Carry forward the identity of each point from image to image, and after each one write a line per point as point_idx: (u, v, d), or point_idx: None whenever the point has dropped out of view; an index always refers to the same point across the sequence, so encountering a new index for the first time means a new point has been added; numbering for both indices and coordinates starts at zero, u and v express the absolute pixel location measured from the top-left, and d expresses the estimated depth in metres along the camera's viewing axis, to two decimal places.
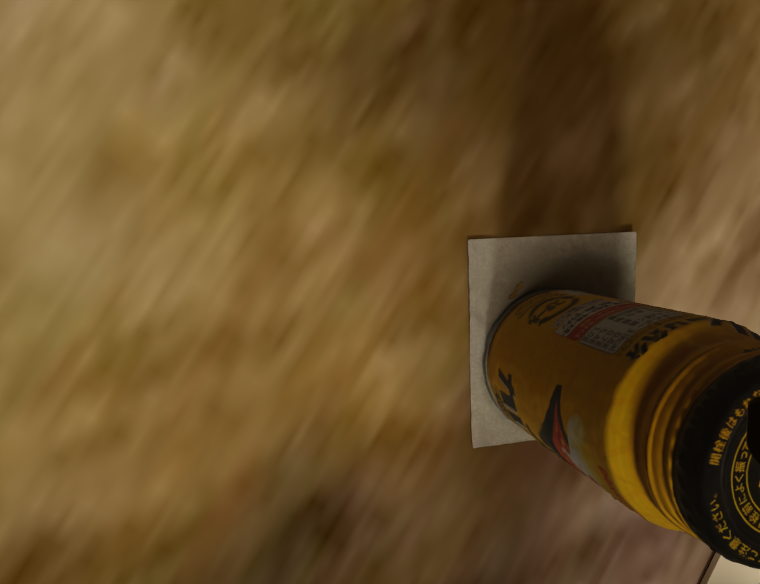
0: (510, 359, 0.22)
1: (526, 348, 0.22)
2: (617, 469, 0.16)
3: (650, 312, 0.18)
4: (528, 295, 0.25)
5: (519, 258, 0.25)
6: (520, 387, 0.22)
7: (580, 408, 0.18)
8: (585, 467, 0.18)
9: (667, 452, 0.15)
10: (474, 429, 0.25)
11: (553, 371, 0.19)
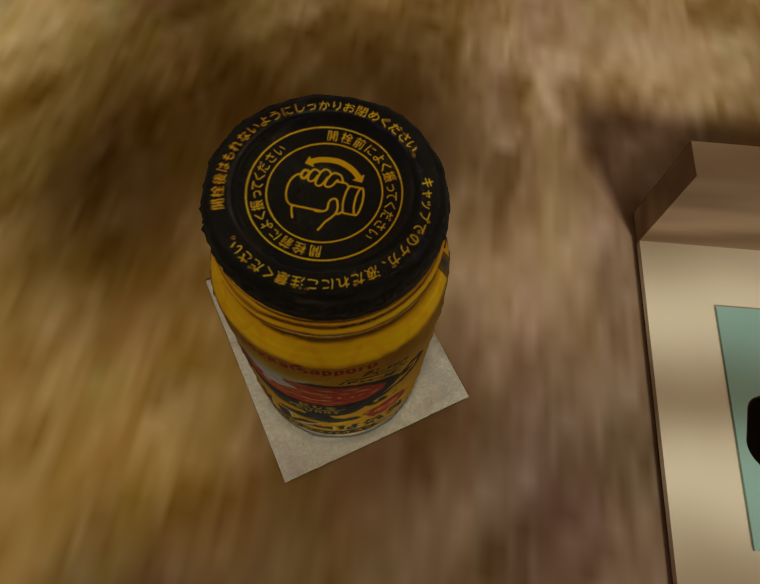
0: None
1: None
2: (235, 319, 0.14)
3: None
4: None
5: None
6: None
7: None
8: (263, 366, 0.16)
9: None
10: (281, 461, 0.22)
11: None
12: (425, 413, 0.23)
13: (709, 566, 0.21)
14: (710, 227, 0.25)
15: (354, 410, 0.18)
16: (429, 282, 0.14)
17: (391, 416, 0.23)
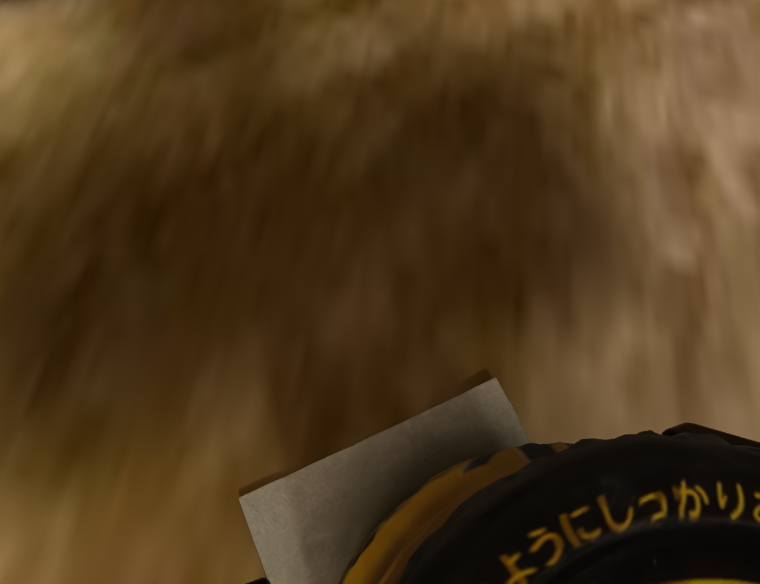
0: None
1: None
2: None
3: None
4: None
5: (332, 492, 0.15)
6: None
7: None
8: None
9: None
10: None
11: None
12: None
13: None
14: None
15: None
16: None
17: None
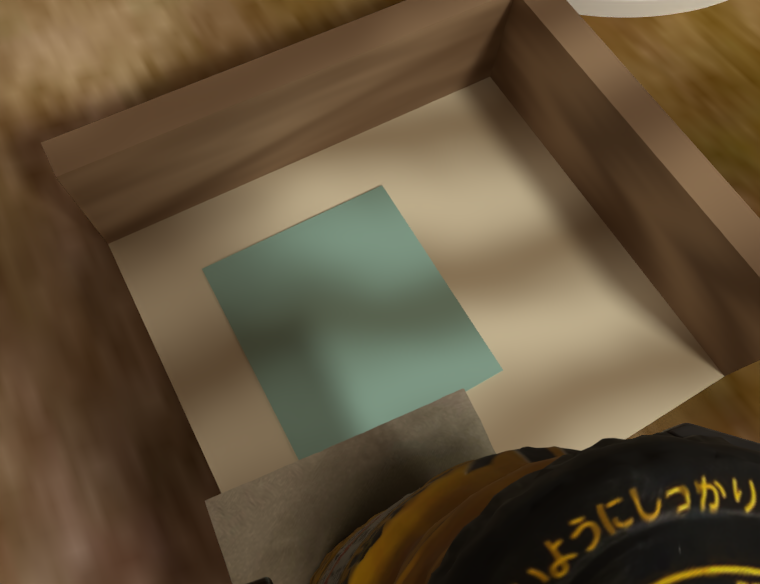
0: None
1: None
2: None
3: (404, 497, 0.09)
4: None
5: (300, 497, 0.15)
6: None
7: None
8: None
9: None
10: None
11: None
12: None
13: None
14: (150, 201, 0.23)
15: None
16: None
17: None
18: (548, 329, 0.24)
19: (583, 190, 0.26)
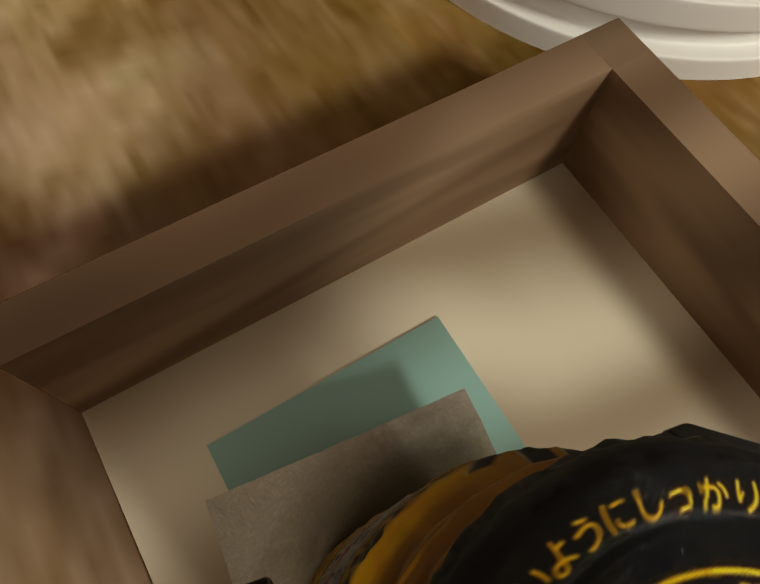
0: None
1: None
2: None
3: (405, 498, 0.09)
4: None
5: (300, 497, 0.15)
6: None
7: None
8: None
9: None
10: None
11: None
12: None
13: None
14: (136, 361, 0.17)
15: None
16: None
17: None
18: None
19: (696, 315, 0.20)
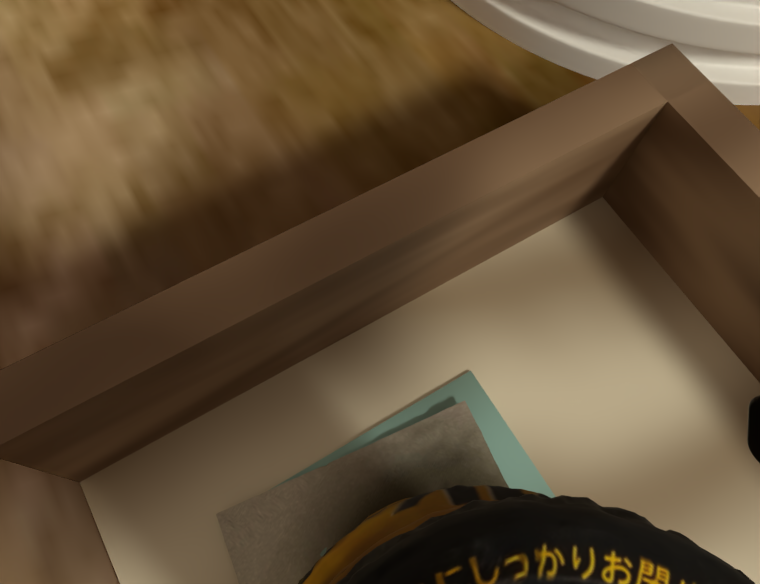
0: None
1: None
2: None
3: None
4: None
5: (305, 510, 0.16)
6: None
7: None
8: None
9: None
10: None
11: None
12: None
13: None
14: (140, 429, 0.16)
15: None
16: None
17: None
18: None
19: (755, 369, 0.18)
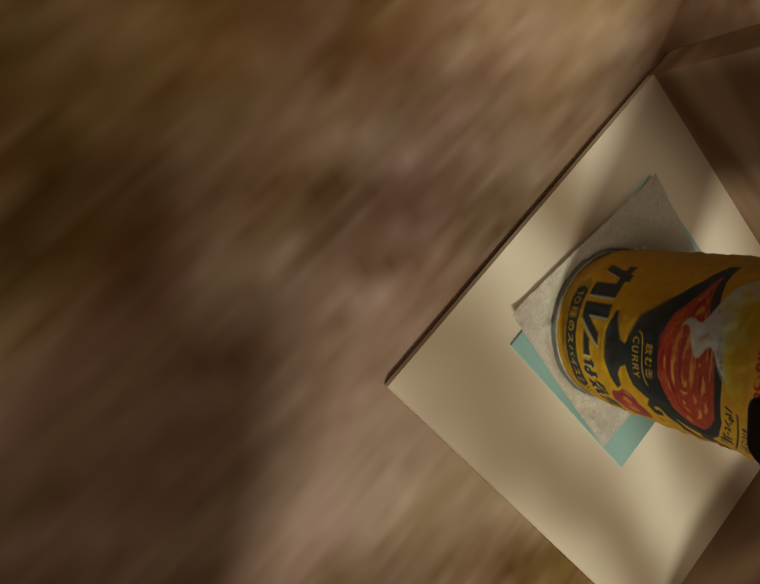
0: (646, 256, 0.21)
1: (677, 254, 0.21)
2: None
3: None
4: None
5: (664, 229, 0.25)
6: (649, 274, 0.20)
7: None
8: (724, 331, 0.17)
9: None
10: (526, 303, 0.23)
11: (728, 261, 0.19)
12: (584, 415, 0.25)
13: (474, 329, 0.22)
14: (712, 112, 0.24)
15: (641, 389, 0.20)
16: None
17: (579, 388, 0.24)
18: (655, 489, 0.27)
19: None
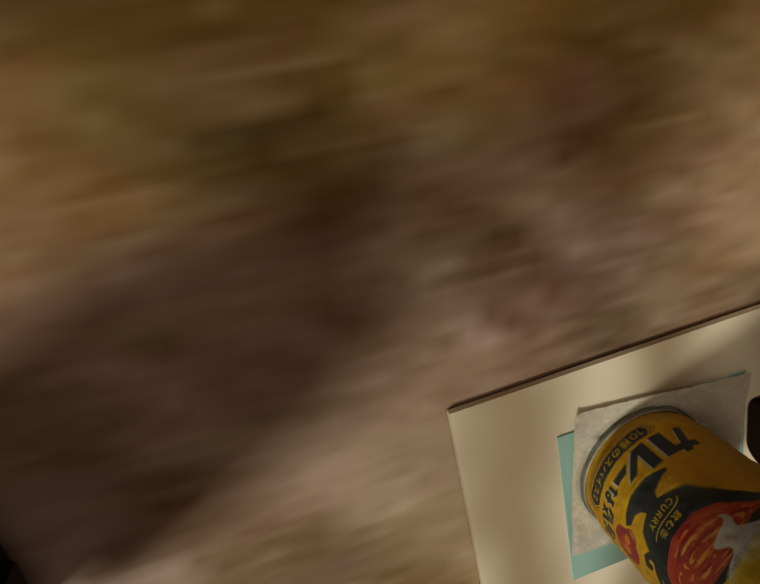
0: (711, 439, 0.24)
1: (737, 452, 0.23)
2: None
3: None
4: None
5: (728, 419, 0.27)
6: (708, 456, 0.23)
7: None
8: (752, 544, 0.19)
9: None
10: (590, 413, 0.25)
11: None
12: (574, 523, 0.27)
13: (539, 409, 0.25)
14: None
15: (647, 540, 0.22)
16: None
17: (585, 501, 0.26)
18: None
19: None
